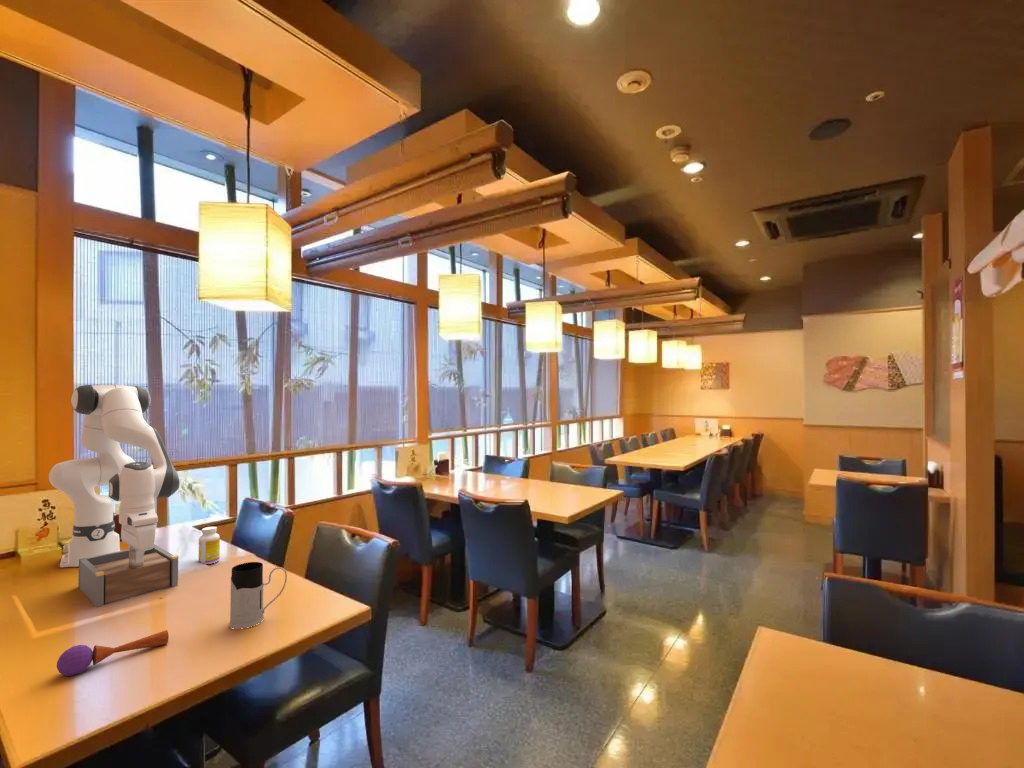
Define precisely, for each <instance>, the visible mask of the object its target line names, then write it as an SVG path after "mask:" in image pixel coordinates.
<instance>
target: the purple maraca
mask: <svg viewBox="0 0 1024 768" xmlns="http://www.w3.org/2000/svg"><path fill="white" fill-rule="evenodd" d="M168 643H169V631H168V629H166V630H162V631H160V632H157V633H154V634H151V635H148V636H145V637H142V638H140V639H136V640H134V641H130V642H128V643H124V644H122V645H119V646H116V647H113V646H111V647H110V646H103V645H97V644H95V645H94V646H93V649H92V648H91V647H90V646H88V645H85V644H77V645H73V646H72V647H70V648H68V649H66V650H65V651H64V652H63V653H61V654H60V655H59V657H58V659H57V661H56V669H57V671H58V673H59V674H61V675H62V676H67V677H69V676H76V675H79V674H81V673H82V672H83V671H86V669H88V667H90V665H91V664H92V665H93V666H96V665H97V664H99V663H100V662H102V661H103V660H105V659H107V658H108V657H110V656H112V655H114V654H115V653H121V652H128V651H134V650H140V649H147V648H152V647H159V646H164V645H165V646H166V645H168Z"/></svg>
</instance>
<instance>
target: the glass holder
mask: <svg viewBox="0 0 1024 768" xmlns="http://www.w3.org/2000/svg"><path fill="white" fill-rule="evenodd" d="M275 570H283V572H284V575H285V576H284V578H285V579H284V584H283V586H282V589H280V591H279V593H278V594H277V595H276V596H275V597H274V598H273V599H272V600H271V601H270V602H268V603H267V604H266V605H265V606H264V586H267V585H269V584H270V583H271V579H272V577H271V576H272V574H273V573H274V572H275ZM263 572H264V565H263V563H262V562H261V561H249V562H248V561H247V562H244V563H240V564H237V565H234V566H233V567H232V568H231V577H230V609H229V610H230V612H229V613H230V615H229V616H230V619H229V623H228V626H229V627H230V628H234V629H241V628H247V627H251V626H254V625H256V624H258V623H260V622H261V621H262V620H263V619H264V617H265V615H264V614H265V610H266V609H267V608H268V607H269V606H270V605H271V604H272V603H273V602H274V601H275V600H277V598H278V597H279V596H280V595H282V593H283V591H284V589H285V587H286V583H287V579H288V577H287V576H288V573H287V571H286V569H285V568H283V567H279V566H277V567H275V568H273V569H272V570H271V571H270V572H269V576H268V582H266V583H264V581H263V580H264V579H263V577H264V575H263V574H264V573H263ZM228 626H227V627H228ZM229 627H228V628H229ZM254 627H255V626H254ZM230 628H229V629H230ZM251 628H252V627H251ZM234 629H233V630H234ZM241 630H242V629H241Z"/></svg>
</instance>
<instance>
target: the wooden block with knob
mask: <svg viewBox="0 0 1024 768" xmlns="http://www.w3.org/2000/svg"><path fill="white" fill-rule="evenodd" d="M135 556H136V551H135V549H131V550H129V558H127V559H123V560H118V561H113V562H109V563H104V564H99V565H95V567H96V568H97V569H98V570H99V571H100V572H101V571H103V572H104V603H108V602H112V601H116V600H119V599H123V598H127V597H131V596H135V595H138V594H142V593H146V592H150V591H153V590H157V589H161V588H165V587H169V586H170V561H169V560H168V559H166V558H164V557H163V556H161V555H159V554H158V553H156V552H155V553H151V554H146V555H143V561H142V562H138V563H137V562H135Z"/></svg>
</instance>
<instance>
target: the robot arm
mask: <svg viewBox="0 0 1024 768" xmlns="http://www.w3.org/2000/svg"><path fill="white" fill-rule="evenodd" d="M71 405H72V408H73V411H75V412H76V413H77V414H80V415H84V418H83V422H82V428H81V435H80V443H81V446H82V447H83V448H85V449H86V450H89V451H91V452H94V453H97V457H95V456H94V457H89V458H77V459H75V458H74V459H70V460H65V461H61V462H59V463H55V464H54V466H52V468H51V469H50V471H49V474H48V480H49V483H50V484H51V485H52V487H53V488H55V489H57V490H59V491H61V492H62V493H64V494H65V495H67V496H68V498H69V499H70V500H71V502H72V505H73V510H74V511H73V512H74V525H73V526H72V527H73V528H72V530H71V531H72V537H71V539H70V540H69V542H68V543H67V544H66V545H63V546H62V547H63V549H62V552H63V553H64V554H63V555H62V556H61V559H60V563H59V568H68V567H69V568H71V567H72V568H73V567H75V568H76V567H78V568H79V559H83V558H88V557H93V556H98V555H103V554H108V553H113V552H118V551H122V550H121V549H120V543H121V542H120V539H121V541H122V542H123V543H125V544H126V545H127V546H128V549H129V550H131V549H135V551H136V556H135V562H137V563H138V562H142V561H143V555H144V552H145V551H147V550H151V549H153V546H154V544H155V543H156V542H155V541H156V530H157V528H156V524H157V523H158V521H159V516H158V514H157V513H156V502H155V499H164V498H165V499H167V498H170V497H171V496H172V495H174V494H175V493H176V492H177V491H178V490H179V489H180V476H179V474H178V472H177V469H176V468H175V467H174V465H173V462H172V461H171V458H170V456H169V453H168V451H167V448H166V446H165V444H164V443H165V442H164V441H163V439H162V436H161V435H160V433H159V431H158V430H157V428H155V427H152V426H150V424H148V422H146V420H145V419H144V415H143V413H145V412H146V411H147V410H148V409H149V407H150V405H151V395H150V391H149V390H148V389H147V388H146V387H142V386H139V385H138V386H137V385H135V386H131V385H122V384H98V385H97V384H96V385H92V384H84V385H79V386H78V387H76V388H75V390H74V391H73V392H72V395H71ZM121 444H124V445H130V446H135V447H139V448H142V449H144V450H145V451H147V452H148V454H149V455H150V458H151V460H152V463H153V464H152V463H150V462H147V461H146V462H145V461H135V460H134V458H132V457H131V456H130V455H128V454H126V453H125V452H124V451H123V449H122V447H121ZM153 465H154V466H153ZM102 486H108V496H105V495H102V494H99V493H96V491H95V488H96V487H102ZM113 501H115V502H118V503H119V502H120V503H119V507H118V523H119V524H120V525H121V527H120V529H121V531H120V534H119V533H118V532H116V531H115V529H116V528H115V526H116V523H115V520H114V502H113Z"/></svg>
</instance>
